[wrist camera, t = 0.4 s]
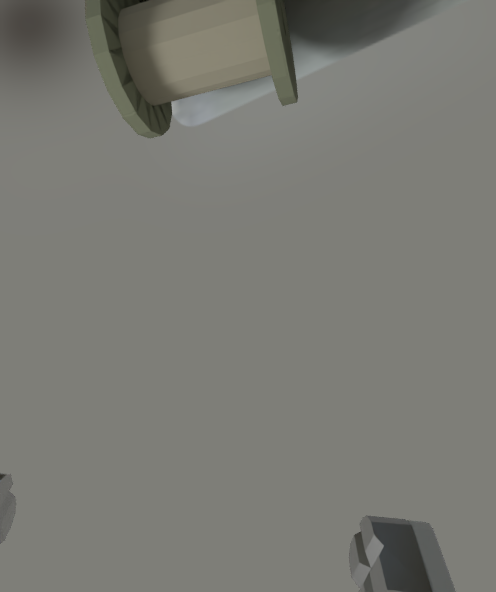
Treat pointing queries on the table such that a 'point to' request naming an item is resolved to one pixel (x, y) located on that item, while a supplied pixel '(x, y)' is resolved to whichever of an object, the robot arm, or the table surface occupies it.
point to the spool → (186, 52)
